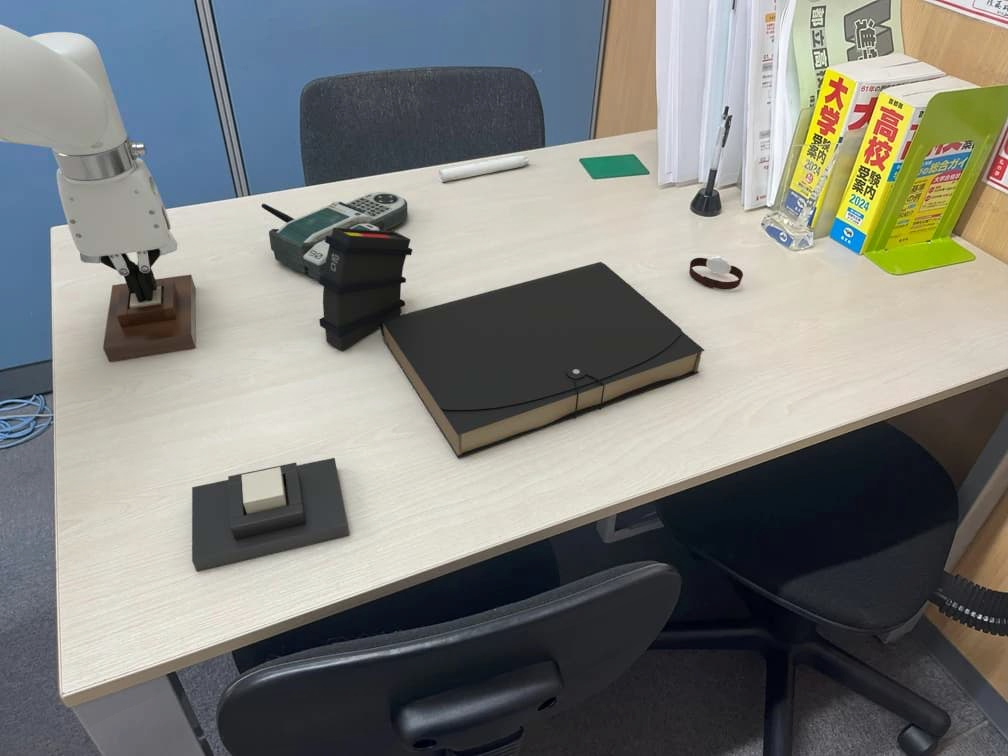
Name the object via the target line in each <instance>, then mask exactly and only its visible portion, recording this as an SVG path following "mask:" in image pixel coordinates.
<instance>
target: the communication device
mask: <svg viewBox="0 0 1008 756" xmlns="http://www.w3.org/2000/svg"><path fill="white" fill-rule="evenodd" d="M261 208H262V209H264V210H265V211H267V212H269V213H270V214H271V215H273V216H275V217H276V218H278V219H279V220H281V221H282V222H285V223H284V225H282V226H281V227H280V228H271V229H270V230H269V231H268V237H269V243H270V250H271V251H273V255H274V259H275V260H276V261H277V262H279V263H281V264H283V265H286V266H287V267H290V268H292V269H294V270H296V271H299V272H300V273H303V274H308V276H310V277H311V278H314V279H316V280H318V281H319V277H320V276H324V275H325V266H326V258H327V254H328V249H329V244H327V243H326V242H325V239H326V236H332V232H333V228H334V227H335V228H350V229H364V230H378V231H390V230H391V229H393V228H395V227H397V226H399V225H401V224H402V223H403V222H404V221H405V220H406V219H407V217H408V202H407V200H406V199H405V198H404V197H402V196H401V195H399V194H396V193H393V192H387V191H376V192H374V191H373V192H370V193H366V194H365V195H362V196H359V197H358V198H357V197H356V198H355V199H353V200H351V201H348V202H342V201H332V202H331V203H330V204H328V205H326V206H323V207H321V208H318V209H316V210H314V211H311V212H309V213H307V214H303V215H302V216H299V217H297V218H294V217H292V216H291V215H288V214H286V213H284V212H282V211H280V210H278V209H276V208H274V207H272V206H270V205H268V204H267V203H262V204H261Z"/></svg>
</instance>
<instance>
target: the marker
mask: <svg viewBox="0 0 1008 756" xmlns="http://www.w3.org/2000/svg"><path fill="white" fill-rule="evenodd" d="M530 160H531V158H529V157H528V156H526V155H514V156H509V157H503V158H497V159H492V160H491V159H489V160H485V161H481V162H474V163H471V164H465V165H460V166H454V167H449V168H442V169H439V171H438V177H439V181H440V182H441V183H444V182H450V181H454V180H455V181H457V180H460V179H465V178H470V177H477V176H481V175H486V174H492V173H496V172H502V171H508V170H513V169H517V168H521V167H524V166H526V165H527V164H528V163H529V162H530Z"/></svg>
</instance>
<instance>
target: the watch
mask: <svg viewBox="0 0 1008 756" xmlns="http://www.w3.org/2000/svg"><path fill="white" fill-rule="evenodd" d="M694 267H705V268H707V269H708V270H709V271H710V272H711V273H713V274H715V275H718V276H724V275H726V274H730V275H733V276H734V277H736V278H737V280H733V281H722V280H719V279H713V278H711V277H709V276H705V275H704V276H703V275H701V274H700V273H698V272H696V271H695V270H694V269H693V268H694ZM688 273H689V276H690V278H691V279H692V280H694V281H695V282H697V283H699V284H700V285H702V286H704V287H707V288H710V289H717V290H723V291H725V290H726V291H728V290H733V289H736V288H738V287H739V286H741V285H740V284H741V282H742V279H743V277H744V273H743V271H742V270H741V269H740V268H739V267H737V266H734V265H732V264H731V262H730V261H729V260H728V259H726V258H725V257H723V256H721V255H719V256H718V255H717V256H712V257H710V258H707V257H706V258H705V257H695V258H693V259H691V261H690V263H689V272H688Z"/></svg>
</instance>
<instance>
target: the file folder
mask: <svg viewBox="0 0 1008 756" xmlns="http://www.w3.org/2000/svg"><path fill="white" fill-rule="evenodd" d="M379 330H380V332H381V336H382V338H383V341H384V343H385V345H386V347H387V348H388V350H389V351H390V353H391V354H392V356H393V357H394V359H395V361H396V362H397V364H398V365H399V367H400V369H401V370H402V372H403V373H404V375H405V377H406V378H407V379H408V381H409V382H410V384H411V386H412V387H413V389H414V390H415V392H416V394H417V396H418V397H419V398H420V400H421V402H422V404H423V405H424V406H425V408H426V410H427V411H428V413H429V415H430V416H431V417H432V419H433V421H434V422H435V424H436V425H437V427H438V429H439V430H440V432H441V433H442V435H443V436H444V438H445V439H446V441H447V443H448V444H449V446H450V447H451V449H452V450H453V452H454V454H455V455H456V457H457V458H458V459H461V458H463V457H466V456H469V455H472V454H475V453H477V452H480V451H483V450H485V449H488V448H491V447H494V446H497V445H500V444H503V443H506V442H508V441H511V440H513V439H516V438H519V437H522V436H524V435H525V436H526V435H527V434H530V433H533V432H537V431H539V430H542V429H544V428H547V427H550V426H552V425H556V424H558V423H561V422H564V421H566V420H569V419H572V418H573V419H576V418H577V417H578V416H581V415H584V414H586V413H589V412H592V411H594V410H595V411H596V410H601V409H602V408H604V407H606V406H609V405H611V404H615V403H617V402H620V401H623V400H625V399H628V398H631V397H634V396H637V395H640V394H642V393H645V392H648V391H651V390H654V389H656V388H659V387H662V386H665V385H667V384H671V383H673V382H676V381H679V380H682V379H684V378H687V377H689V376H693V375H696V374H699V367H700V366H699V365H700V363H701V358H702V356H703V354H702V353H703V352H705V351H706V350H705V349H704V348H703V347H702V346H701V345H700V344H698V343H697V342H695V341H694V340H693V339H692V338H691V337H690V336H688V335H687V333H685V332H684V331H683V330H682V328H681V327H680V326H679V325H677V324H676V323H675V322H674V321H673V320H672V319H670V318H669V317H668V316H667V315H666V314H664V313H663V312H662V311H661V310H660V309H659V308H657V306H655V305H654V304H653V303H652V302H650V300H648V299H647V298H645V296H644V295H642V294H641V293H640V292H639V291H638V290H636V289H635V288H634V287H633V286H632V285H630V284H629V283H628V282H627V281H626V280H625V279H624V278H623V277H621V276H620V275H619V274H618V273H616V271H614V270H613V269H612V268H610V267H609V266H608V265H607V264H606V263H603V262H602V261H598V262H595V263H590V264H587V265H583V266H579V267H576V268H572V269H568V270H565V271H561V272H557V273H552V274H549V275H546V276H542V277H538V278H534V279H531V280H526V281H523V282H519V283H516V284H512V285H509V286H505V287H501V288H496V289H494V290H493V289H492V290H489V291H485V292H482V293H478V294H475V295H471V296H467V297H464V298H460V299H456V300H452V301H449V302H445V303H441V304H438V305H433V306H430V307H425V308H422V309H418V310H415V311H414V310H413V311H411V312H407V313H404V314H401V315H399V316H395V317H392V318H388V319H384V320H381V321H380V328H379Z"/></svg>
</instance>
